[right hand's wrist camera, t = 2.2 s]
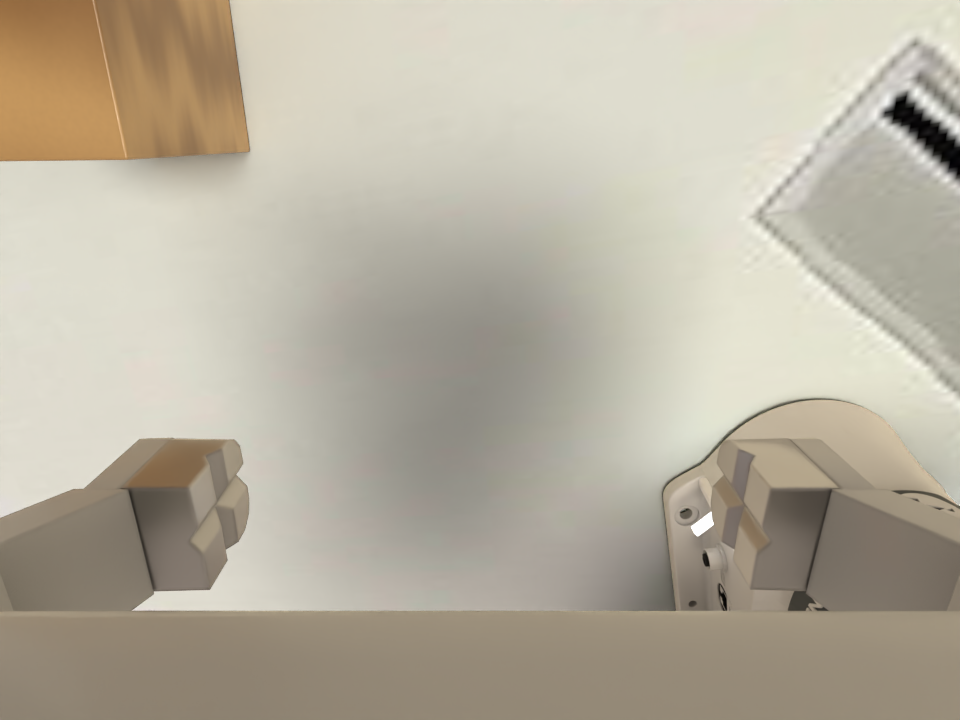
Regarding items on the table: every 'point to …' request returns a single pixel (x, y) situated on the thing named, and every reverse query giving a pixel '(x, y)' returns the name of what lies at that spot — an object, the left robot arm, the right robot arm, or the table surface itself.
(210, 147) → the box
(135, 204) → the table surface
